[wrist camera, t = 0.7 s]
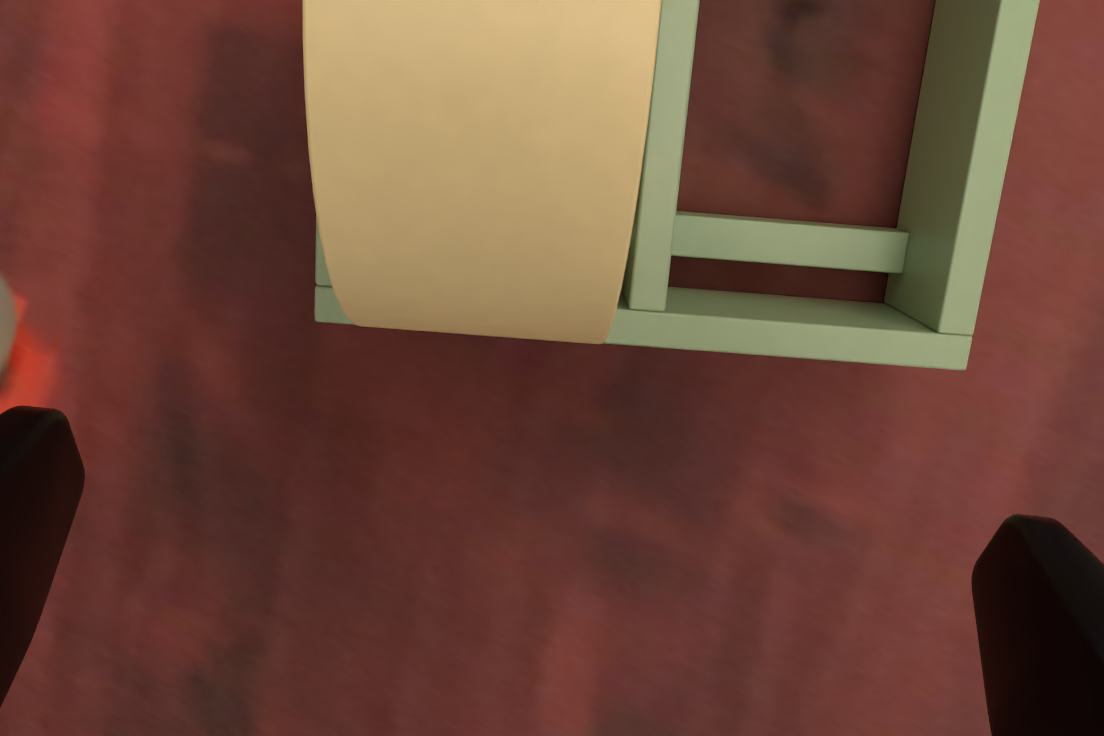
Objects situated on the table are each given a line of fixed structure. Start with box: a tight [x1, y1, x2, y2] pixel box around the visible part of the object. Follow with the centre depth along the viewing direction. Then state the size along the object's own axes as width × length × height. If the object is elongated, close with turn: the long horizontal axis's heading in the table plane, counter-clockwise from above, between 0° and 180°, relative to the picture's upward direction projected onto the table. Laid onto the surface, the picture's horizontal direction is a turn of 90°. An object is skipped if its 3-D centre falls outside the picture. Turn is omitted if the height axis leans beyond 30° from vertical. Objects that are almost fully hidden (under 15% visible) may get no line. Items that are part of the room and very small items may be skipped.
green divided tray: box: [315, 0, 1040, 370], centre depth 21 cm, size 12×14×4 cm
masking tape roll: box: [303, 0, 662, 344], centre depth 17 cm, size 11×5×11 cm, turn 175°
